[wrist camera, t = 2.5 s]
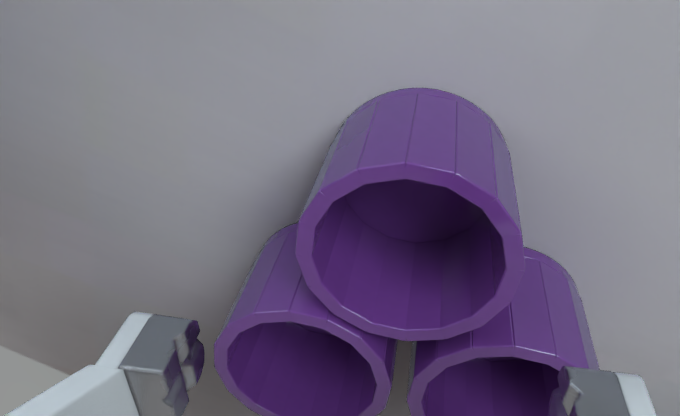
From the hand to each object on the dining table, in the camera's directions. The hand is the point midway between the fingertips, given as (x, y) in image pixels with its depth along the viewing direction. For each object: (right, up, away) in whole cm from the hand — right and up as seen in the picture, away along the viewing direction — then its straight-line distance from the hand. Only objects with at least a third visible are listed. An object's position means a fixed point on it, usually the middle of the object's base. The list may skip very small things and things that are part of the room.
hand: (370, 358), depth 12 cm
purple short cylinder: (+2, +5, +7) cm, 8 cm away
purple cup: (-1, 0, +10) cm, 10 cm away
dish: (+6, -1, +9) cm, 11 cm away
